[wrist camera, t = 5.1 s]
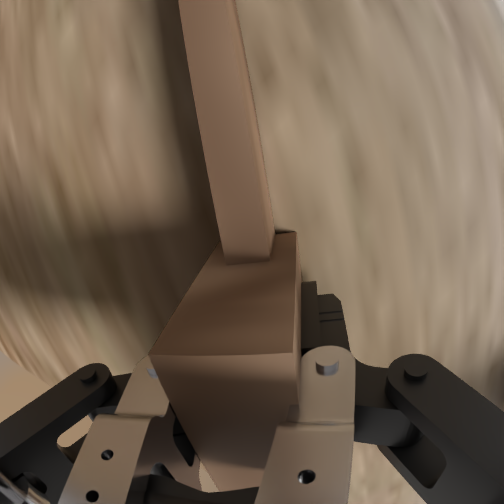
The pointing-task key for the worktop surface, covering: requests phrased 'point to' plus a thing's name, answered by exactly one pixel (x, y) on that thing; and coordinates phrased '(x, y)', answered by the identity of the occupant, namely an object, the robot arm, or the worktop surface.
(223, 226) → the walnut push stick
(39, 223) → the worktop surface
